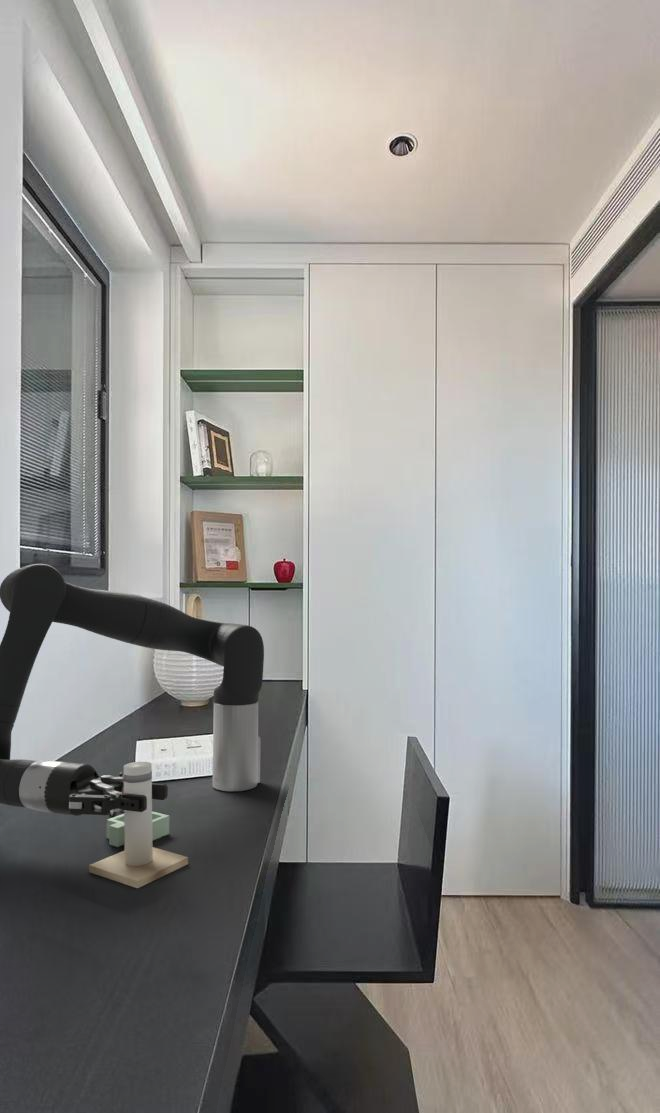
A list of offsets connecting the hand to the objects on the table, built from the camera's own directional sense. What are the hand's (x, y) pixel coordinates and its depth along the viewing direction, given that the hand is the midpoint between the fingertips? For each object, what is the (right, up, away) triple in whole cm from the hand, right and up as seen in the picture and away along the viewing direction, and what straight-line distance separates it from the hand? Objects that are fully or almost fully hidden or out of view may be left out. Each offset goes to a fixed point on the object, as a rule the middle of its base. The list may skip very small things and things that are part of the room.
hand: (155, 797), depth 104 cm
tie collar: (-6, -11, +13) cm, 18 cm away
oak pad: (-3, -11, 0) cm, 11 cm away
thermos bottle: (-3, -9, 0) cm, 10 cm away
